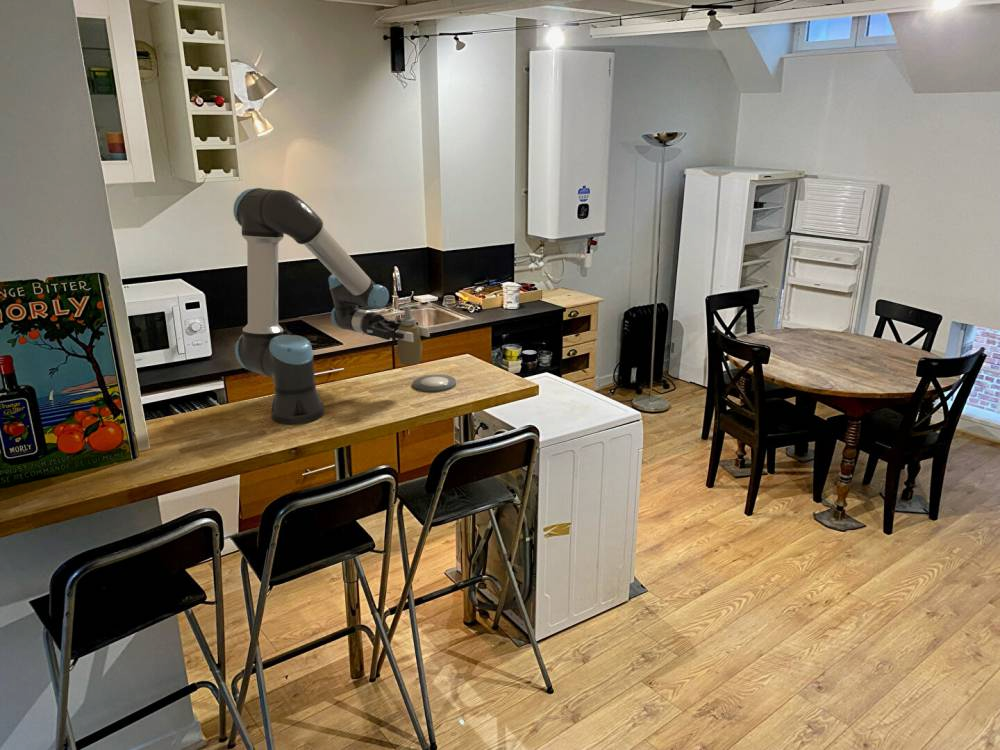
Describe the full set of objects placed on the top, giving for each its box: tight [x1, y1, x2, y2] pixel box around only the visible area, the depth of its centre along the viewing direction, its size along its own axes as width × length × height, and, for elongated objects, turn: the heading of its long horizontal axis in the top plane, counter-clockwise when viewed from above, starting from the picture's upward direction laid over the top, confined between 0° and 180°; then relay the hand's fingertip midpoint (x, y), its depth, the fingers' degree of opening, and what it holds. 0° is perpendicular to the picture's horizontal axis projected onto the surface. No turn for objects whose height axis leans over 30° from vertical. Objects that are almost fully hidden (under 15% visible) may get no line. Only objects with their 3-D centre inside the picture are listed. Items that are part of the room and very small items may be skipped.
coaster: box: [412, 374, 457, 393], centre depth 248 cm, size 14×14×1 cm
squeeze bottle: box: [396, 306, 423, 366], centre depth 235 cm, size 8×8×18 cm
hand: (420, 335), depth 231 cm, fingers closed on squeeze bottle, 6 cm apart
